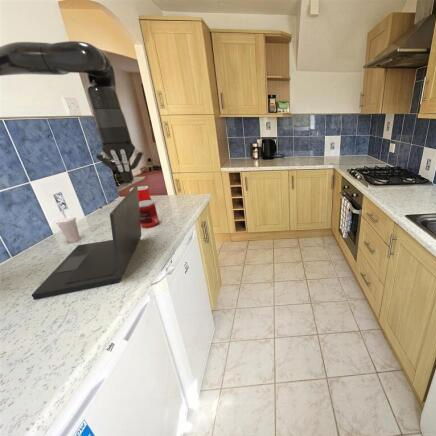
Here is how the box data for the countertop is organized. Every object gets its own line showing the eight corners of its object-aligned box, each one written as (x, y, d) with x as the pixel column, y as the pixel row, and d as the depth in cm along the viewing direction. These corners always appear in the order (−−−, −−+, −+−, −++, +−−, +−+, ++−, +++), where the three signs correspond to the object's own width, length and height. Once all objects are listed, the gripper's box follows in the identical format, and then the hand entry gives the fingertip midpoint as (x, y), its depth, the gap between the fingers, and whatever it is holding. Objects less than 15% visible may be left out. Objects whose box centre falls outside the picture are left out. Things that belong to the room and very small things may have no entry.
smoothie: (70, 245, 98) (56, 213, 92) (60, 242, 100) (46, 211, 94) (87, 237, 103) (75, 207, 98) (77, 235, 106) (65, 205, 100)
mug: (137, 205, 140) (132, 187, 136) (153, 203, 143) (148, 185, 138) (133, 212, 130) (127, 193, 126) (150, 210, 132) (145, 191, 128)
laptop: (34, 299, 69) (30, 294, 68) (79, 249, 95) (78, 244, 94) (119, 282, 75) (117, 277, 74) (140, 239, 101) (138, 235, 100)
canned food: (156, 220, 119) (151, 198, 115) (161, 224, 114) (156, 202, 109) (139, 224, 115) (132, 202, 110) (143, 230, 109) (136, 207, 105)
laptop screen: (109, 213, 67) (112, 213, 67) (134, 186, 93) (137, 186, 93) (117, 278, 74) (120, 277, 74) (139, 235, 100) (141, 235, 100)
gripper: (140, 124, 77) (153, 177, 84) (90, 126, 73) (109, 182, 80) (134, 125, 70) (149, 183, 77) (79, 127, 67) (101, 187, 73)
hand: (129, 182), depth 79 cm, fingers closed
